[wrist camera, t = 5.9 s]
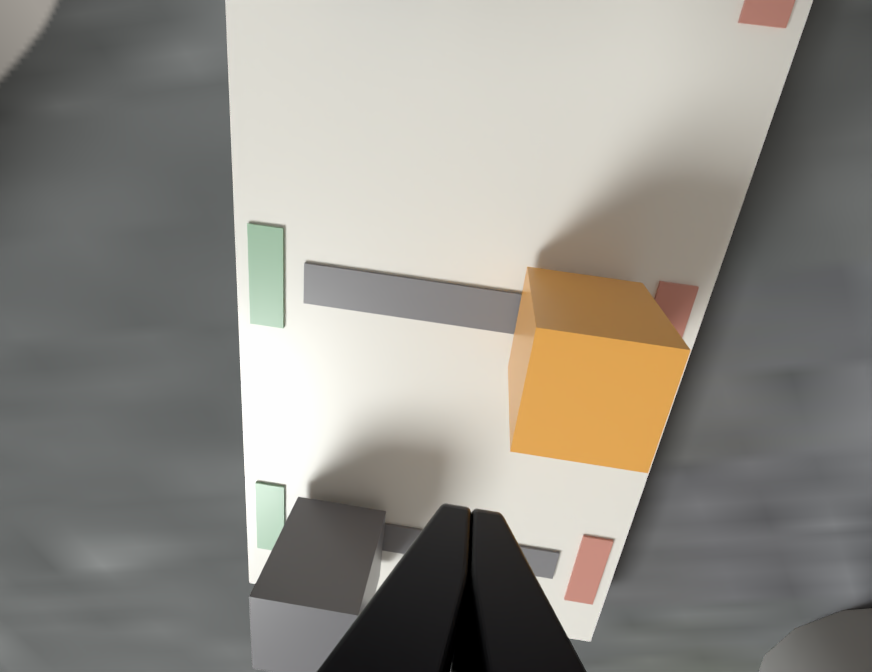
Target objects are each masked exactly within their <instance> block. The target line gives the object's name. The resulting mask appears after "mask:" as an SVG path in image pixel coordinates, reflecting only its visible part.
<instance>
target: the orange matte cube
mask: <svg viewBox="0 0 872 672" xmlns="http://www.w3.org/2000/svg"><path fill="white" fill-rule="evenodd" d="M690 351H691V350H690V348H689V347H688V346H687V344H686V343H685V341H684V340H683V339H682V337H681V336H680V334H679V333H678V332H677V330H676V329H675V327H674V326H673V325H672V323H671V322H670V320H669V319H668V318H667V316H666V315H665V313H664V312H663V311H662V309H661V308H660V306H659V305H658V304H657V302H656V301H655V299H654V298H653V297H652V295H651V294H650V292H649V291H648V290H647V288H646V287H645V285H644V284H643V283H641V282H633V281H626V280H619V279H612V278H605V277H598V276H591V275H584V274H577V273H570V272H563V271H556V270H549V269H542V268H534V267H527V270H526V275H525V280H524V285H523V291H522V296H521V301H520V306H519V311H518V317H517V322H516V327H515V332H514V337H513V343H512V348H511V353H510V358H509V363H508V392H509V428H510V452H516V453H522V454H528V455H535V456H541V457H548V458H554V459H560V460H567V461H573V462H579V463H586V464H592V465H598V466H605V467H611V468H617V469H624V470H630V471H636V472H643V473H648V472H649V469H650V466H651V463H652V461H653V458H654V455H655V452H656V449H657V446H658V443H659V440H660V437H661V435H662V432H663V429H664V426H665V423H666V420H667V417H668V414H669V411H670V409H671V406H672V403H673V400H674V397H675V394H676V391H677V388H678V385H679V383H680V380H681V377H682V374H683V371H684V368H685V365H686V362H687V360H688V357H689V354H690Z"/></svg>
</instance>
